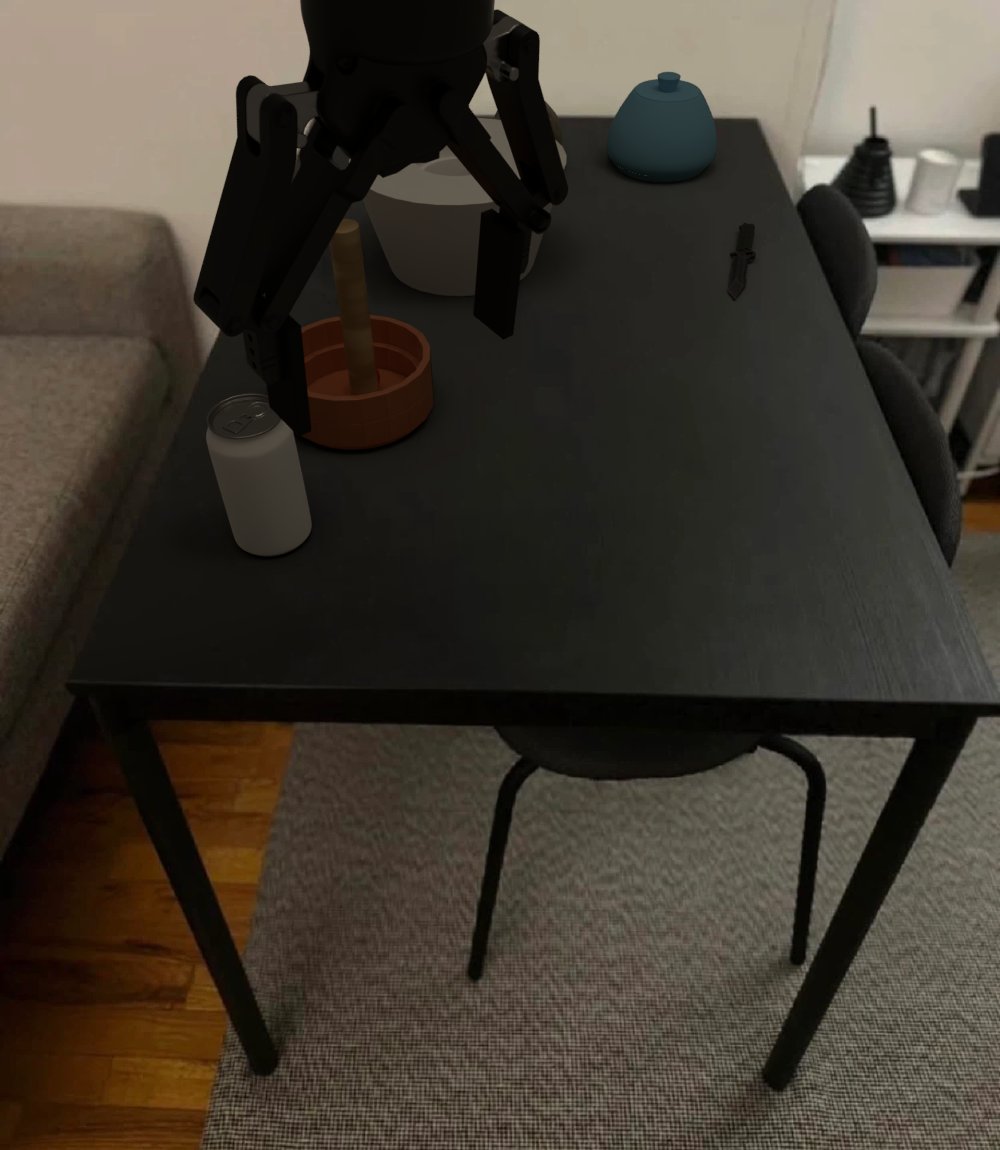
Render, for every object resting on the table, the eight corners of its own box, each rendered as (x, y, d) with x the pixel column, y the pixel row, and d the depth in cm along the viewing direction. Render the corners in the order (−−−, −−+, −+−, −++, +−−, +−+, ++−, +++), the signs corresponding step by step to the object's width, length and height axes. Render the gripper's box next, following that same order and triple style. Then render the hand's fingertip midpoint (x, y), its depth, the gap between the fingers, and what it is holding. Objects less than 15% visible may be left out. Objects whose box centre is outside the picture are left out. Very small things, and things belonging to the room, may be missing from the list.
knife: (734, 220, 116) (759, 220, 115) (734, 227, 117) (759, 227, 116) (722, 295, 104) (750, 296, 103) (722, 302, 105) (749, 303, 104)
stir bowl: (253, 421, 89) (240, 367, 85) (350, 352, 98) (343, 300, 93) (370, 473, 84) (362, 418, 79) (463, 395, 92) (460, 342, 88)
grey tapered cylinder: (572, 221, 119) (576, 122, 110) (550, 319, 102) (554, 211, 93) (387, 210, 121) (378, 113, 113) (337, 304, 105) (322, 198, 96)
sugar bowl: (730, 179, 127) (745, 88, 119) (625, 191, 125) (633, 99, 116) (689, 138, 137) (701, 51, 129) (592, 148, 135) (597, 61, 127)
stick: (347, 407, 89) (320, 225, 77) (368, 396, 91) (344, 215, 78) (365, 418, 88) (340, 235, 75) (386, 407, 90) (365, 224, 77)
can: (328, 524, 79) (306, 406, 71) (276, 570, 75) (246, 451, 67) (271, 497, 82) (242, 381, 73) (218, 541, 78) (181, 423, 69)
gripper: (126, 24, 27) (230, 512, 44) (700, -103, 38) (607, 324, 55) (15, -66, 30) (151, 421, 47) (574, -160, 41) (523, 261, 58)
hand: (397, 369), depth 51 cm, fingers open, 13 cm apart
